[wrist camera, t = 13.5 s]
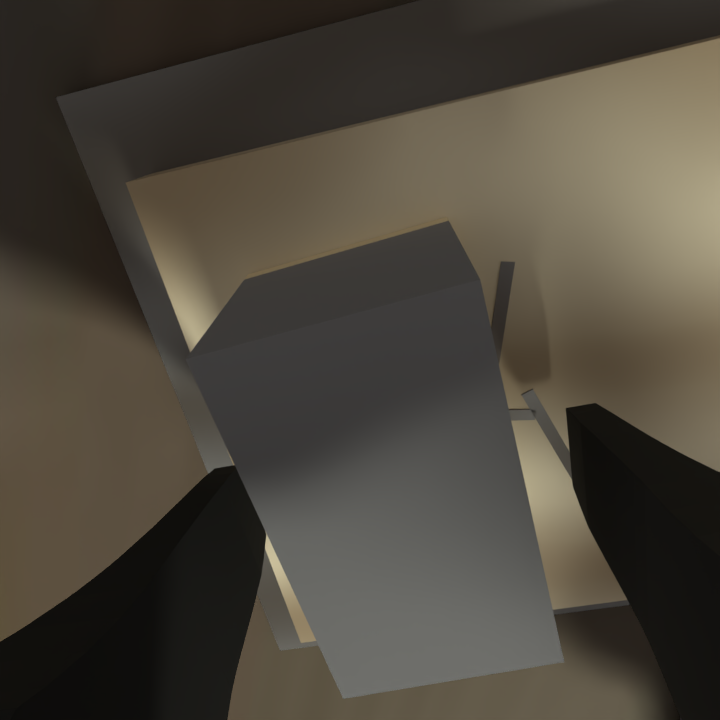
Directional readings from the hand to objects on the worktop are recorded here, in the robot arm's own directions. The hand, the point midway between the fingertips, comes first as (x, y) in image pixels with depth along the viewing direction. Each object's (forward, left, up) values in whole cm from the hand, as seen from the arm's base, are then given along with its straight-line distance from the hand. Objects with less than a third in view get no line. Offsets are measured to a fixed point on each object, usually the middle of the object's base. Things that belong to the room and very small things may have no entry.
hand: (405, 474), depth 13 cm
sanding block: (+1, 0, -2) cm, 2 cm away
